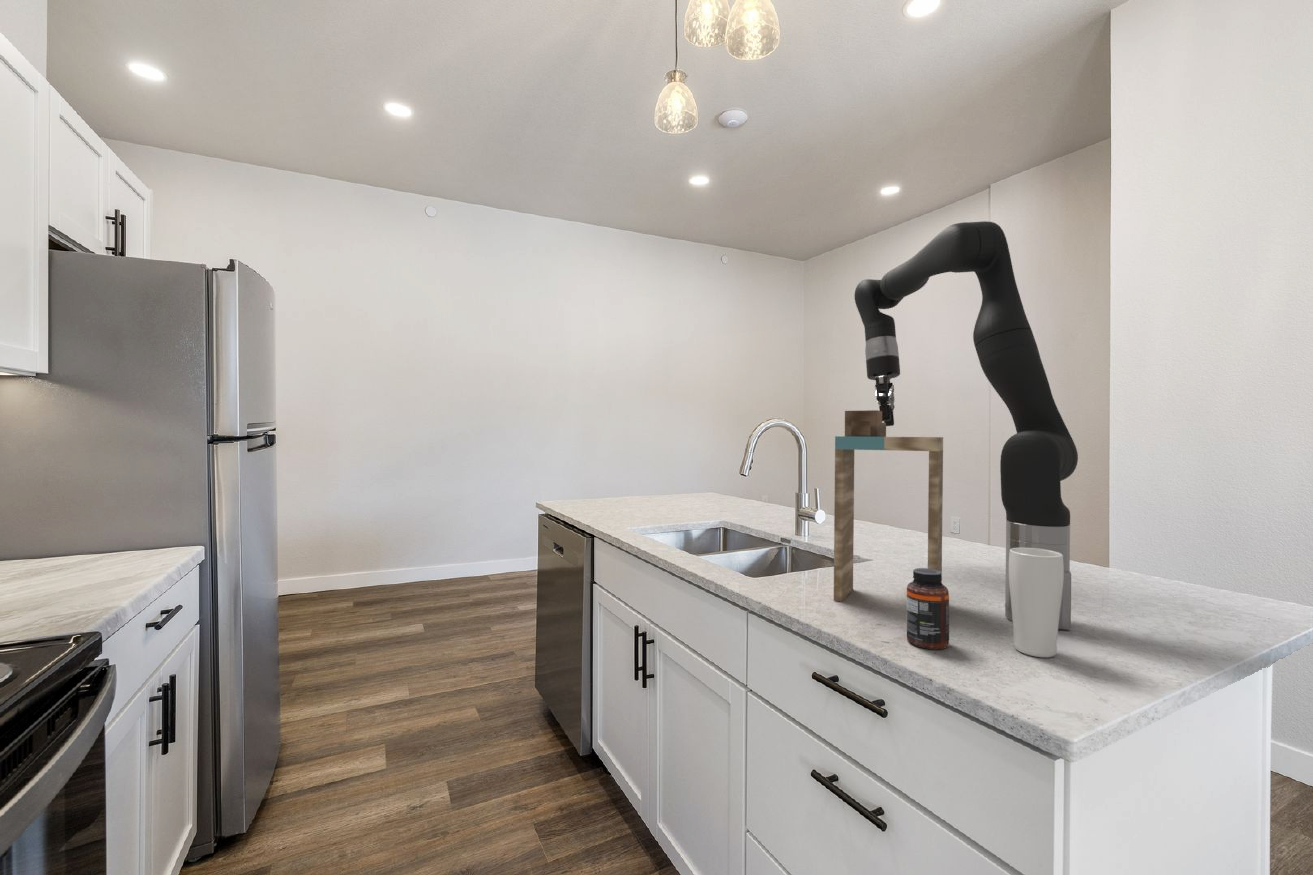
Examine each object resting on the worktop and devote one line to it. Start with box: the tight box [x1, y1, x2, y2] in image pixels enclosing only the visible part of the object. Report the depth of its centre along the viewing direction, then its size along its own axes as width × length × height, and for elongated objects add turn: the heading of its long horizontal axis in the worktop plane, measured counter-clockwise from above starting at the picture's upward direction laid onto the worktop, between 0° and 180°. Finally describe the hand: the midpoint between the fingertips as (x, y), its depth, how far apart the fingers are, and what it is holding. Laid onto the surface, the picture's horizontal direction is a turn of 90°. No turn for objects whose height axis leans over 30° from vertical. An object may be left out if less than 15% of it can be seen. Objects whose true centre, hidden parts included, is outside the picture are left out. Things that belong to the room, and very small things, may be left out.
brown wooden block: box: [844, 409, 887, 437], centre depth 114 cm, size 6×18×5 cm, turn 148°
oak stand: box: [833, 435, 944, 602], centre depth 108 cm, size 18×10×32 cm, turn 58°
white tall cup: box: [1009, 548, 1064, 659], centre depth 83 cm, size 7×7×15 cm
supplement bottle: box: [906, 567, 950, 650], centre depth 86 cm, size 6×6×11 cm
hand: (887, 423), depth 134 cm, fingers open, 8 cm apart
